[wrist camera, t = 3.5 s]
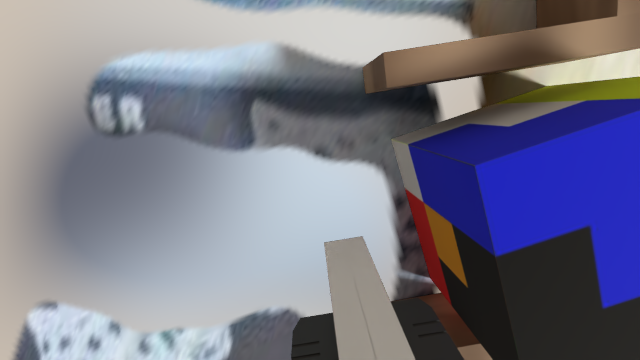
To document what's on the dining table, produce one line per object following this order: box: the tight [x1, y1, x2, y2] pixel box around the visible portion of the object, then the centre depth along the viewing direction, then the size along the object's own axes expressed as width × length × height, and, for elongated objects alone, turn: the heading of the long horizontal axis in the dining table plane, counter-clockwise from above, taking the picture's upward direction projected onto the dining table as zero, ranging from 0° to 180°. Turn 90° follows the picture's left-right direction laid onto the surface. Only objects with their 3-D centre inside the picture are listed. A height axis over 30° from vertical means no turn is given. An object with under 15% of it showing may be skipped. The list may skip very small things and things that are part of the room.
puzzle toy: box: [391, 77, 640, 360], centre depth 16 cm, size 10×10×10 cm
